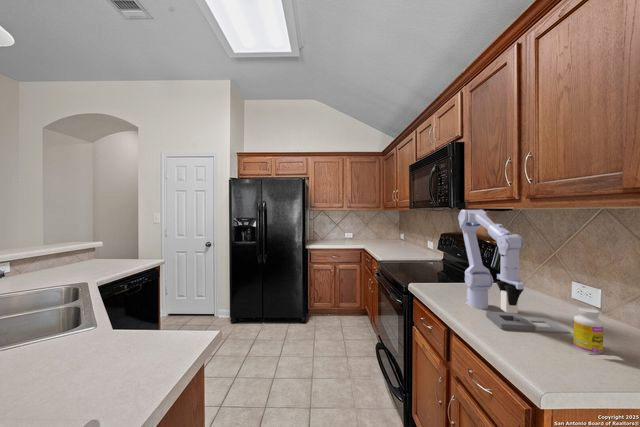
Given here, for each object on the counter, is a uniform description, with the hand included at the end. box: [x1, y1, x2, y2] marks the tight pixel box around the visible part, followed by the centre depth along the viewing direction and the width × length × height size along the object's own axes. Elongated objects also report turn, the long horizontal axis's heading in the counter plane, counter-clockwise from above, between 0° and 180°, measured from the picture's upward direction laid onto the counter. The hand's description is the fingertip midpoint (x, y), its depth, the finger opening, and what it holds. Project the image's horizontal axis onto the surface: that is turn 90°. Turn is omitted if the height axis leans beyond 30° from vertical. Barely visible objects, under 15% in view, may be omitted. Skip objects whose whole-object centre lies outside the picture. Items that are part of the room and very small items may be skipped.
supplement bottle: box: [572, 306, 604, 356], centre depth 85 cm, size 7×7×13 cm
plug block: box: [500, 290, 519, 314], centre depth 103 cm, size 4×4×8 cm
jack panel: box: [485, 310, 571, 334], centre depth 102 cm, size 12×22×3 cm, turn 82°
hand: (509, 303), depth 103 cm, fingers closed on plug block, 4 cm apart
